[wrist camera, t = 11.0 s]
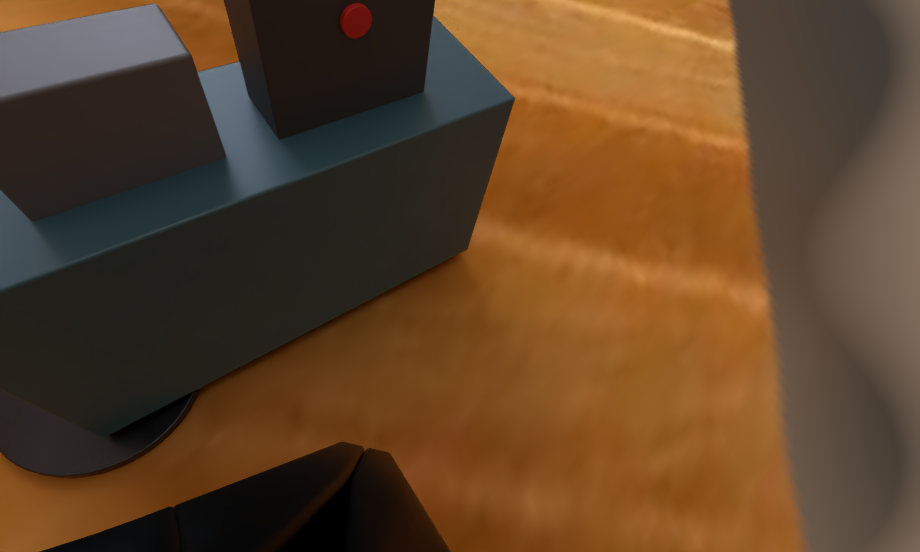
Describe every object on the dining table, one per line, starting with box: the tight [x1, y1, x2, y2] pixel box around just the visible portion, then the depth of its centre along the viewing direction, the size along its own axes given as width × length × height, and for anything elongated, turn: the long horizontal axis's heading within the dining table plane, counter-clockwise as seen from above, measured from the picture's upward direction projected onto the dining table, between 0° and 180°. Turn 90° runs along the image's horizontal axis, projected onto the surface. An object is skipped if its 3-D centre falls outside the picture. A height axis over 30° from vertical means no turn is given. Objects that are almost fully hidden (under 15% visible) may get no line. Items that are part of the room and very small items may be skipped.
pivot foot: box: [0, 388, 200, 478], centre depth 18 cm, size 7×7×1 cm
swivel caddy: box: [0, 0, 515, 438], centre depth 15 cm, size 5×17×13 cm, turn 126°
